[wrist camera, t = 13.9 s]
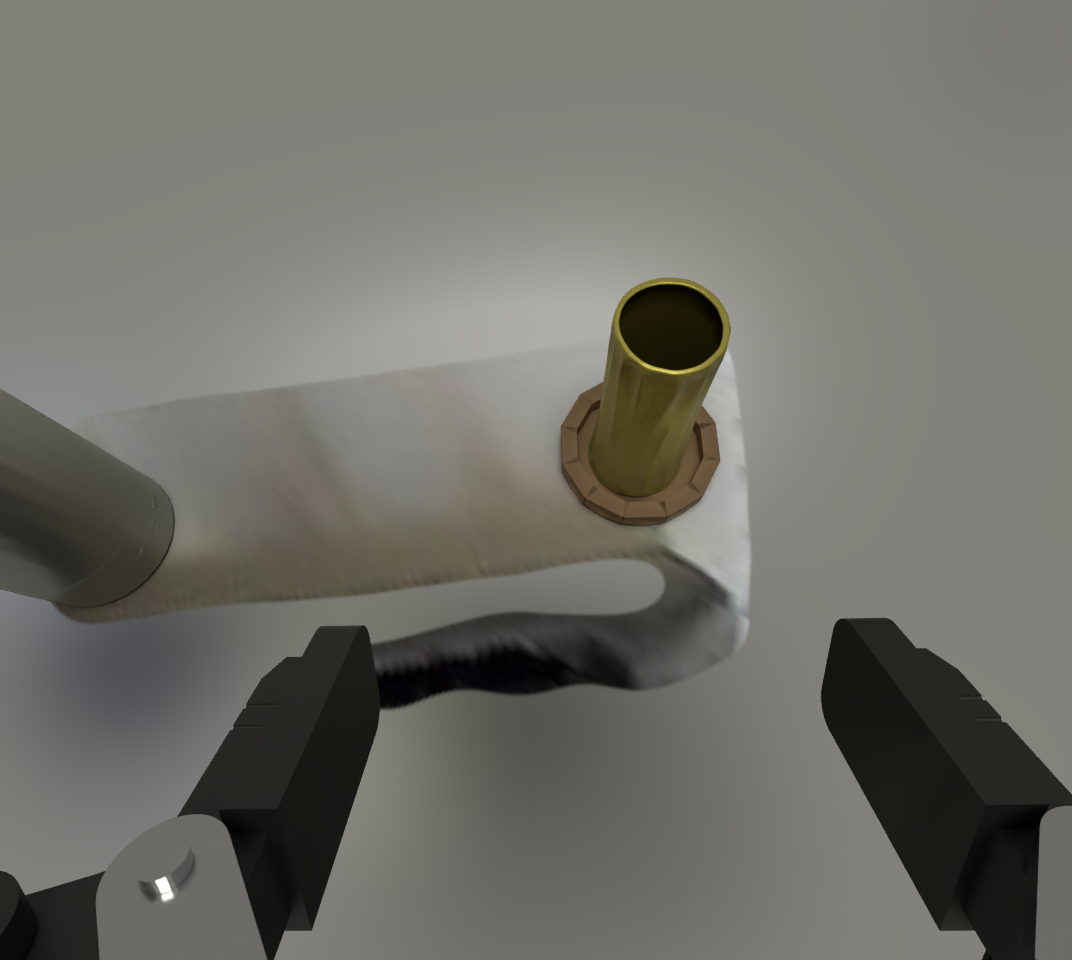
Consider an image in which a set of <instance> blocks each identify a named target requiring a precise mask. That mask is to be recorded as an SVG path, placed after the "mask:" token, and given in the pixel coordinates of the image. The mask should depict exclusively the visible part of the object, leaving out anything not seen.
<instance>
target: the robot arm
mask: <svg viewBox="0 0 1072 960" xmlns="http://www.w3.org/2000/svg"><path fill="white" fill-rule="evenodd" d="M173 523H174V519H173V511H172V506H171V504H170V501H169V498H168V496H167V495H166V493H165V492H164V491H163V489H162V488H161V487H160V486H159V485H158V484H157V483H156V482H154V481H153V480H152V479H150V478H149V477H147V476H145V475H144V474H142V473H140V472H139V471H137V470H135V469H134V468H132V467H130V466H129V465H127V464H125V463H124V462H122V461H120V460H119V459H117V458H115V457H114V456H113V455H111V454H109V453H108V452H106V451H104V450H103V449H101V448H99V447H98V446H96V445H94V444H92V443H91V442H89V441H87V440H86V439H84V438H82V437H81V436H79V435H77V434H76V433H74V432H72V431H71V430H69V429H67V428H65V427H64V426H62V425H60V424H59V423H57V422H56V421H54V420H52V419H51V418H49V417H47V416H45V415H44V414H42V413H40V412H39V411H37V410H35V409H34V408H32V407H30V406H29V405H27V404H25V403H23V402H22V401H20V400H19V399H17V398H15V397H14V396H12V395H10V394H8V393H7V392H5V391H3V390H2V389H0V589H1V590H6V591H10V592H14V593H17V594H21V595H25V596H30V597H34V598H38V599H43V600H47V601H51V602H56V603H60V604H65V605H69V606H73V607H94V606H98V605H103V604H107V603H110V602H112V601H115V600H117V599H119V598H122V597H124V596H125V595H127V594H128V593H130V592H131V591H133V590H135V589H136V588H137V587H139V586H140V585H141V584H142V583H143V582H144V581H145V580H146V579H147V578H149V577H150V575H151V574H152V573H153V572H154V570H155V569H156V568H157V567H158V565H159V564H160V562H161V561H162V559H163V557H164V555H165V553H166V551H167V550H168V547H169V543H170V540H171V537H172V532H173ZM821 702H822V710H823V714H824V718H825V721H826V724H827V726H828V729H829V731H830V732H831V734H832V736H833V738H834V739H835V741H836V743H837V745H838V747H839V749H840V751H841V752H842V754H843V756H844V758H845V760H846V761H847V763H848V765H849V767H850V769H851V770H852V772H853V774H854V776H855V777H856V780H857V781H858V783H859V785H860V787H861V789H862V790H863V792H864V794H865V796H866V798H867V800H868V801H869V803H870V805H871V807H872V808H873V810H874V812H875V814H876V816H877V818H878V819H879V821H880V823H881V825H882V827H883V829H884V830H885V832H886V834H887V836H888V838H889V839H890V841H891V843H892V845H893V847H894V849H895V850H896V852H897V854H898V856H899V858H900V859H901V861H902V863H903V865H904V867H905V868H906V870H907V872H908V874H909V876H910V878H911V879H912V881H913V883H914V885H915V887H916V888H917V890H918V892H919V894H920V896H921V897H922V899H923V901H924V903H925V905H926V906H927V908H928V910H929V912H930V914H931V916H932V917H933V919H934V921H935V923H936V925H937V926H938V928H939V930H940V931H947V930H949V931H952V930H953V931H956V930H957V931H960V930H962V931H966V930H975V931H976V933H977V935H978V936H979V938H980V940H981V942H982V943H983V945H984V947H985V948H986V951H985V953H984V955H983V958H982V960H1072V794H1071V793H1070V792H1069V791H1068V790H1067V789H1066V788H1065V787H1064V786H1063V785H1062V783H1061V782H1060V781H1059V780H1058V779H1057V778H1056V777H1055V776H1054V775H1053V774H1052V772H1051V771H1050V770H1049V769H1048V768H1047V767H1046V766H1045V765H1044V764H1043V762H1042V761H1041V760H1040V759H1039V758H1038V757H1037V756H1036V755H1035V754H1034V753H1033V751H1032V750H1031V749H1030V748H1029V747H1028V746H1027V745H1026V744H1025V743H1024V741H1023V740H1022V739H1020V737H1019V736H1018V735H1017V734H1016V733H1015V732H1014V731H1013V729H1012V728H1011V727H1010V726H1009V725H1008V724H1007V723H1006V722H1002V721H1001V716H1000V715H999V714H998V713H997V712H996V711H995V710H994V708H993V707H992V706H991V705H990V704H989V703H988V702H987V701H986V700H982V698H981V694H980V693H979V692H978V691H977V690H976V689H975V688H974V686H973V685H972V684H971V683H970V682H969V681H968V680H967V679H966V678H965V677H964V675H963V674H962V673H961V672H960V671H959V670H958V669H957V668H955V667H953V666H952V665H950V664H949V663H947V662H946V661H944V660H943V659H941V658H940V657H938V656H937V655H935V654H934V653H932V652H931V651H929V650H928V649H926V648H924V649H922V648H920V649H919V648H917V649H916V647H915V646H914V645H913V644H912V643H911V642H910V640H909V639H908V638H907V637H906V636H905V635H904V634H903V632H902V631H901V630H900V629H899V628H898V626H897V625H896V624H895V623H894V622H893V621H891V620H890V619H888V618H854V619H853V618H851V619H839V620H838V621H837V622H836V624H835V626H834V629H833V634H832V639H831V644H830V649H829V653H828V659H827V664H826V669H825V674H824V679H823V684H822V690H821ZM379 712H380V698H379V690H378V684H377V678H376V672H375V667H374V661H373V655H372V649H371V643H370V637H369V633H368V630H367V628H366V627H365V626H321V627H319V628H318V629H317V631H316V632H315V634H314V636H313V638H312V639H311V641H310V643H309V645H308V647H307V648H306V651H305V652H304V654H303V656H302V657H286V658H285V659H284V660H283V661H282V662H281V663H279V664H278V665H277V666H276V667H275V668H274V669H272V670H271V671H270V672H269V673H268V674H267V675H265V676H264V677H263V678H262V679H261V681H260V683H259V684H258V686H257V687H256V689H255V690H254V692H253V694H252V695H251V697H250V699H249V700H248V702H247V706H246V709H243V710H242V712H241V713H240V715H239V717H238V718H237V720H236V722H235V723H234V728H233V730H230V731H229V733H228V735H227V736H226V738H225V740H224V741H223V743H222V745H221V746H220V748H219V750H218V751H217V753H216V754H215V756H214V758H213V759H212V761H211V763H210V765H209V766H208V768H207V769H206V771H205V773H204V774H203V776H202V777H201V779H200V781H199V782H198V784H197V785H196V787H195V789H194V790H193V792H192V794H191V795H190V797H189V799H188V800H187V802H186V803H185V805H184V807H183V808H182V810H181V812H180V813H179V815H178V816H177V817H176V818H173V819H170V820H167V821H165V822H163V823H160V824H158V825H156V826H154V827H153V828H151V829H149V830H147V831H146V832H144V833H143V834H141V835H140V836H138V837H137V838H136V839H135V840H133V841H132V842H131V843H130V844H129V845H127V846H126V847H125V848H124V849H123V850H122V851H121V852H120V853H119V854H118V855H117V857H116V858H115V859H114V860H113V861H112V863H111V864H110V865H109V867H108V869H107V870H106V871H104V872H101V873H98V874H96V875H92V876H89V877H85V878H82V879H79V880H75V881H72V882H69V883H66V884H62V885H59V886H55V887H52V888H49V889H45V890H42V891H39V892H35V893H32V894H28V895H25V894H24V893H23V891H22V889H21V887H20V885H19V884H18V882H17V880H16V879H15V878H14V877H13V876H12V875H10V874H8V873H6V872H3V871H0V960H274V957H275V955H276V952H277V950H278V947H279V944H280V941H281V939H282V936H283V933H284V931H292V930H293V931H295V930H296V931H299V930H301V931H311V930H312V928H313V925H314V922H315V919H316V916H317V912H318V910H319V906H320V903H321V900H322V897H323V894H324V891H325V888H326V885H327V882H328V879H329V876H330V872H331V870H332V867H333V864H334V861H335V857H336V854H337V851H338V848H339V845H340V842H341V839H342V836H343V833H344V830H345V827H346V824H347V820H348V817H349V814H350V811H351V808H352V805H353V802H354V799H355V796H356V793H357V790H358V787H359V784H360V781H361V778H362V775H363V772H364V768H365V765H366V762H367V759H368V756H369V753H370V750H371V747H372V744H373V741H374V737H375V735H376V731H377V727H378V721H379Z"/></svg>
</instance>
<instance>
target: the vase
mask: <svg viewBox="0 0 1072 960" xmlns="http://www.w3.org/2000/svg"><path fill="white" fill-rule="evenodd" d="M730 333H731V326H730V322H729V317H728V314H727V312H726V310H725V308H724V306H723V305H722V303H721V302H720V301H719V299H718V298H717V297H716V296H715V295H714V294H713V293H711V292H710V291H709V290H708V289H706V288H705V287H703V286H701V285H699V284H697V283H695V282H692V281H690V280H686V279H680V278H659V279H654V280H650V281H647V282H644V283H641V284H639V285H637V286H635V287H634V288H632V289H631V290H630V291H629V292H627V293H626V294H625V295H624V296H623V298H622V299H621V301H620V303H619V304H618V306H617V309H616V311H615V314H614V317H613V321H612V326H611V335H610V341H609V347H608V355H607V363H606V370H605V376H604V382H603V388H602V394H601V402H600V408H599V412H598V415H597V419H596V424H595V429H594V432H593V435H592V437H591V439H590V442H589V447H588V457H589V463H590V466H591V468H592V470H593V472H594V473H595V475H596V476H597V478H598V479H599V480H600V481H601V483H602V484H604V485H605V486H606V487H608V488H609V489H611V490H612V491H614V492H616V493H619V494H622V495H626V496H632V497H642V496H647V495H651V494H654V493H657V492H659V491H661V490H663V489H665V488H666V487H667V486H668V485H669V484H670V483H671V482H672V481H673V480H674V479H675V478H676V476H677V474H678V472H679V470H680V466H681V463H682V458H683V455H684V452H685V450H686V447H687V444H688V441H689V439H690V436H691V433H692V430H693V427H694V423H695V420H696V417H697V415H698V412H699V410H700V408H701V405H702V403H703V401H704V398H705V396H706V394H707V392H708V390H709V387H710V385H711V383H712V381H713V379H714V377H715V375H716V372H717V370H718V368H719V366H720V364H721V362H722V360H723V358H724V355H725V353H726V349H727V345H728V341H729V337H730Z"/></svg>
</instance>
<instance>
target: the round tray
mask: <svg viewBox="0 0 1072 960" xmlns="http://www.w3.org/2000/svg"><path fill="white" fill-rule="evenodd" d="M602 388H603V382H602V383H601V384H599V385H597V386H595V387H593V388H591V389H590V390H588V391H586V392H584V393H582V394H581V395H580V396H579V397H578V399H577V401H576V402H575V404H574V406H573V407H572V409H571V411H570V412H569V414H568V416H567V417H566V419H565V421H564V422H563V424H562V426H561V452H562V454H561V457H562V472H563V473H564V475H565V476H566V479H567V481H568V483H569V485H570V487H571V489H572V490H573V492H574V493H575V495H576V496H577V497H578V498H579V499H580V500H581V501H582V502H583V504H584V505H585V506H587V507H588V508H589V509H591V510H592V511H593V512H595V513H597V514H598V515H600V516H602V517H604V518H606V519H608V520H611V521H614V522H617V523H620V524H626V525H632V526H647V525H655V524H659V523H664V522H666V521H669V520H671V519H673V518H675V517H677V516H679V515H681V514H682V513H684V512H685V511H687V510H688V509H689V508H690V507H691V506H693V505H694V504H696V503H698V502H699V501H700V499H701V498H702V496H703V495H704V493H705V491H706V489H707V487H708V485H709V482H710V480H711V478H712V476H713V474H714V472H715V470H716V468H717V466H718V464H719V462H720V454H719V446H718V439H717V431H716V424H715V421H714V420H713V419H712V418H711V416H710V415H709V414H708V413H707V411H706V410H705V409H704V408H703V406H702V405H701V408H700V410H699V412H698V415H697V417H696V420H695V423H694V427H693V430H692V433H691V436H690V439H689V441H688V444H687V447H686V450H685V452H684V455H683V458H682V463H681V466H680V470H679V472H678V474H677V476H676V478H675V479H674V480H673V481H672V482H671V483H670V484H669V485H668V486H667V487H666V488H665V489H663V490H661V491H659V492H657V493H654V494H651V495H647V496H642V497H632V496H626V495H622V494H619V493H616V492H614V491H612V490H611V489H609V488H608V487H606V486H605V485H604V484H602V483H601V481H600V480H599V479H598V478H597V476H596V475H595V473H594V472H593V470H592V468H591V466H590V463H589V457H588V447H589V442H590V439H591V437H592V435H593V432H594V429H595V424H596V419H597V415H598V412H599V408H600V402H601V394H602Z"/></svg>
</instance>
